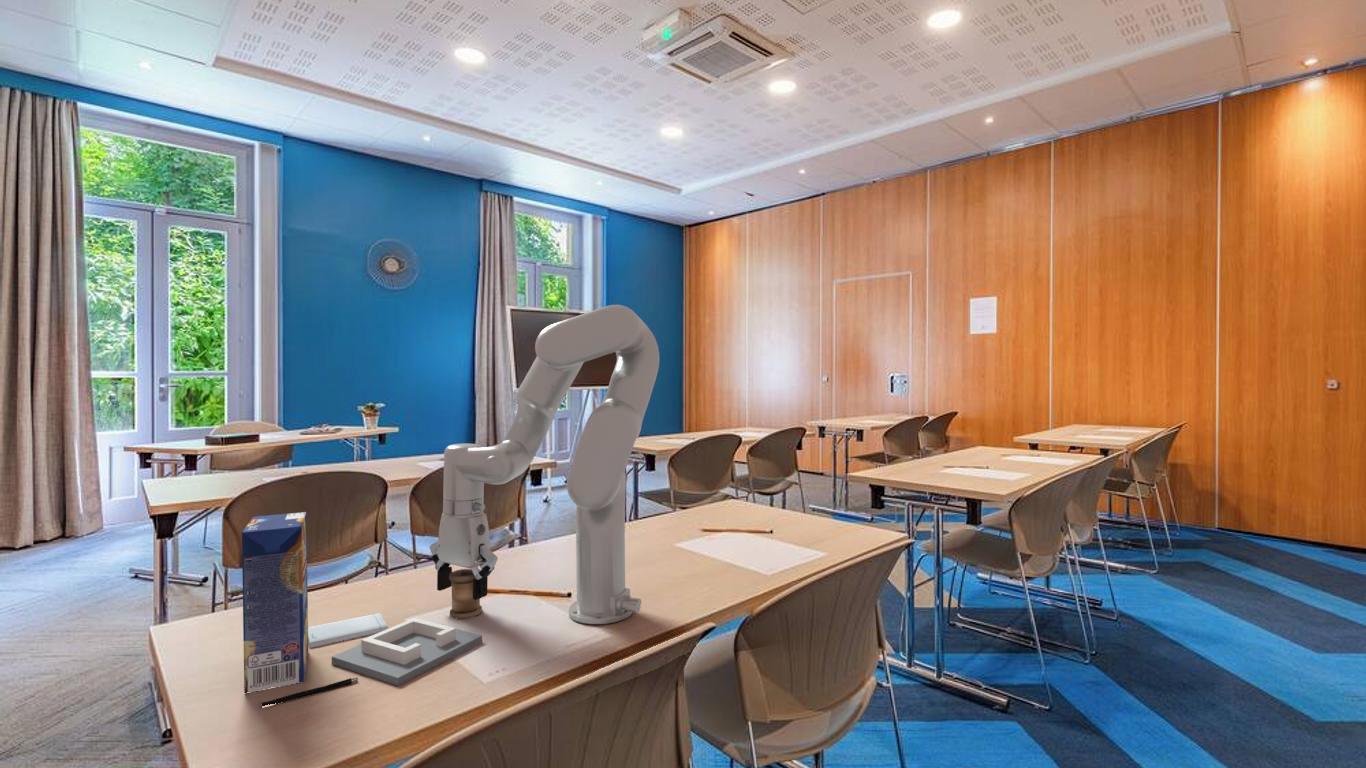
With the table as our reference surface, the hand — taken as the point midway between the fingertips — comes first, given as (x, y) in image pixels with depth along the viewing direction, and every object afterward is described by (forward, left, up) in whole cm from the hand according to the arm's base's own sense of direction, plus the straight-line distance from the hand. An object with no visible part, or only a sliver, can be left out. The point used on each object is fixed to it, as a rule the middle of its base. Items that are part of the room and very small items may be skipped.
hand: (461, 593), depth 121 cm
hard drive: (+12, +16, -5) cm, 21 cm away
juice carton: (+7, +31, -4) cm, 32 cm away
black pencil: (-4, +32, -5) cm, 33 cm away
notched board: (-6, +17, -4) cm, 18 cm away
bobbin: (-1, 0, -4) cm, 4 cm away
